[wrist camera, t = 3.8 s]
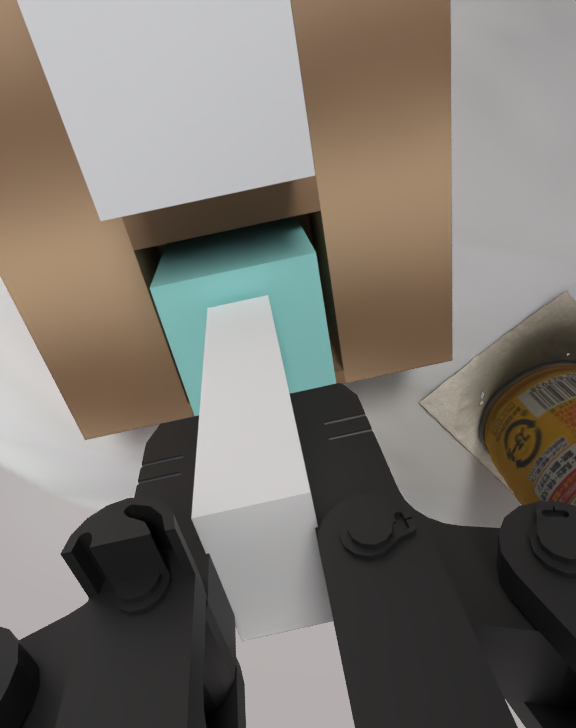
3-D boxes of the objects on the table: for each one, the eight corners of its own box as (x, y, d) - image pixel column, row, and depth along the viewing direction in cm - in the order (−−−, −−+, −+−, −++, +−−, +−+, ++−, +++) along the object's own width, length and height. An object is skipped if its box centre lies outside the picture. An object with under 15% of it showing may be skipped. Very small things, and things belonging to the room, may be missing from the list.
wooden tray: (-219, -373, 10) (-470, -635, 6) (366, -493, 10) (446, -818, 6) (110, 375, 19) (85, 439, 15) (410, 310, 19) (452, 360, 15)
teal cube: (167, 241, 15) (149, 288, 11) (294, 213, 15) (316, 252, 11) (202, 353, 17) (196, 421, 13) (314, 328, 17) (337, 391, 13)
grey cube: (71, -12, 10) (-7, -64, 7) (256, -51, 10) (272, -122, 7) (136, 183, 12) (100, 221, 9) (289, 150, 12) (315, 175, 9)
